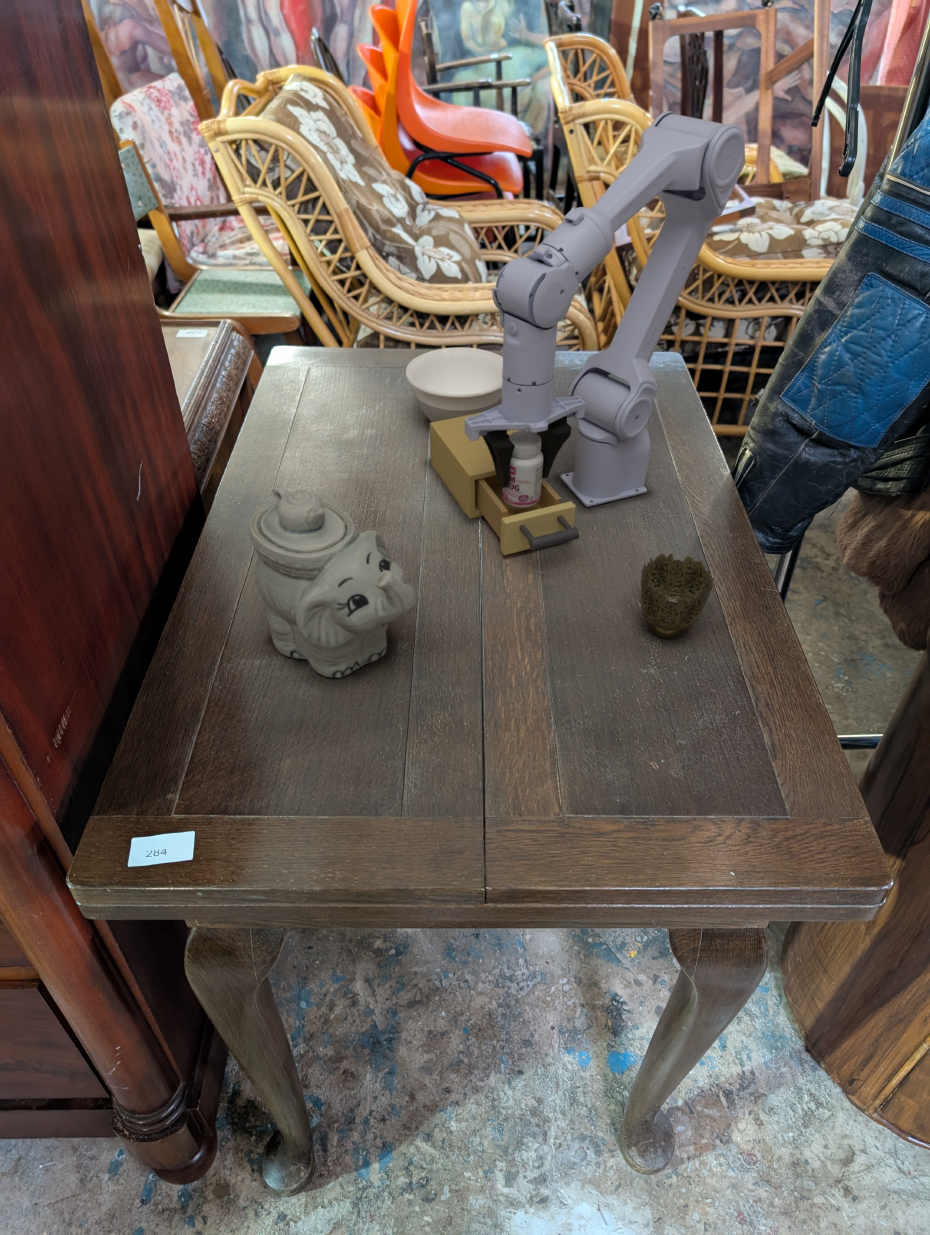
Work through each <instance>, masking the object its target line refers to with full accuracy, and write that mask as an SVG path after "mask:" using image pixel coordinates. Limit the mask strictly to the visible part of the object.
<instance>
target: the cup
mask: <svg viewBox="0 0 930 1235" xmlns="http://www.w3.org/2000/svg"><path fill="white" fill-rule="evenodd" d="M711 577H712V574H711V569H709V570H707V569H706V566H705V565H704V563H703V560H693V557H691V556H690V555H688V556H685V558H684V560H680V559H674V555H673V553H669V554H668V555H666V554H664V553H663V552H661V553H659V554H658V555H657V556H656V557H655V558H654V560H653V558H652V557H650V558H649V559H648V561H647V564H643V567H642V569H641V582H640V606H641V611H642V614H643V616H644V617H645V619H646V620H647V621H648V623H649V627H650V630H651V632H653V634H654V635H656V636H657V637H660V638H663V639H674V638H676V637H678V636H679V635H680V634H681V633H682V632H683V631H684V630H685V629H688V628H689V627H690V626H692V625H693V624H694V623H695V622H696V621H697V620H698V618H699V617H700V616H701V613H703V610H704V608H705V605H706V603H707V601H708V598H709V596H710V594H711V593H712V590H713V588H714V584H715V583H714V581H715V577H712V578H711Z"/></svg>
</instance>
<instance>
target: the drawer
mask: <svg viewBox="0 0 930 1235" xmlns="http://www.w3.org/2000/svg"><path fill="white" fill-rule="evenodd" d="M502 492H503V487H502V486H501V485H500V483H499V482H498V481H497V477H496V475H495V476H491V477H486V478H482V479H477V480H475V505H476V506H477V507H478V509H479V510H480V512H481V513H482V514H483V516H482V517H484V519H485V520H486V521H487V522H488V523H487V524H489V526H490V527H491V528H492V530H493V532H494V533H495V534H496V535H497V537H498V539H500V546H499V547H500V548H499V550H500V552H501V553H502V554H503V556H507V555H510V554H515V553H519V552H522V551H526V550H531V551H536V550H540V549H543V548H548V547H551V546H556V545H559V544H563V543H567V542H571V541H575V540H579V539H580V531H579V529H578V528H577V527H574V526H575V518H576V511H577V510H576V509H577V506H576V504H575V503H574V502H573V501H571V500H570V501H565V502H562V496H560V495H559V494H558V493H557V491H556V490H555V489H554V488H553V487H552V486H551V484H549V482H548V481H547V480H546V478H544V479H543V478H542V482H541V495H540V499H539V501H538V502H537V503H536V504H535V505H533V506H531V507H527V508H518V507H514V506H511V505H509V504H507V503H506V502H505V501H504V499H503V496H502Z"/></svg>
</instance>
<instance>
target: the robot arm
mask: <svg viewBox="0 0 930 1235" xmlns="http://www.w3.org/2000/svg"><path fill="white" fill-rule="evenodd" d="M745 142H746V141H745V136H744V132H743V130H742V128H741V126H739V125H738V124H735V123H726V124H725V123H720V122H715V121H711V120H707V119H702V118H697V117H691V116H686V115H681V114H678V113H676V112H674V111H671V110H667V111H663V112H662V113H660V114H659V115H657V117H656V118H654V120H653V121H652V122H651V124H650V125H649V126H648V127H647V128H646V129H645V130H643V131H642V133H641V136H640V140H639V143H638V147H637V148H638V149H637V154H636V155H635V156H634V157H633V158H632V160H630V162H629V163H628V164H627V166H626V167H625V168H624V169H623V170H622V171H621V173H620V174H619V175H618V176H617V177H616V178H615V180H614V181H613V182H612V183H611V184H610V185H609V187H608V188H607V189H606V190H605V191H604V192H603V194H602V195H601V196H600V198H598V200H597V201H596V202H595V203H594V204H593V206H592V207H586V206H579V207H576V208H574V209H571V210H569V211H568V212H567V214H565V215H564V216H563V218H564V219H563V220H562V221H561V222H560V223H559V224H558V225H557V226H556V227H555V228H554V229H553V230H551V232H550V233H549V234H548V235H547V236H546V237H545V238H544V239H543V240H542V241H541V242H540V243H539V244H538V245H537V246H536V247H535V248H534V249H533V250H532V251H531V252H530V253H529V254H528V255H527V256H520V257H515V258H514V259H512V260H510V261H509V262H507V263H506V264H505V265H504V266H503V267H502V268H501V270H500V272H499V273H498V276H497V280H496V282H495V287H494V288H492V289H491V292H492V293H491V296H492V301H493V304H494V306H495V307H496V308H497V310H498V312H499V325H500V326H501V328H502V329H503V340H502V357H503V367H502V402H501V404H500V405H499V406H496V407H494V408H492V409H490V410H487V411H485V412H483V413H481V414H478V415H476V416H473V417H469V418H465V434H466V435H467V437H468V438H469V439H470V441H475V440H478V439H479V436H482V437H483V439H484V441H485V443H486V445H487V447H488V449H489V452H490V454H491V457H492V460H493V463H494V467H495V471H496V477H497V481H498V482H499V483H500V485H501V486H502V487H503V488H505V487H508V486H509V482H510V463H511V458H512V454H513V450H514V447H515V445H514V444H513V443H512V442H511V441H510V440H509V435H508V434H507V430H519V431H530V432H533V433H536V434H538V435H539V436H540V437H541V452H542V454H543V470H542V478H543V479H548V478H549V475H550V472H551V470H552V467H553V465H554V462H555V460H556V458H557V456H558V454H559V452H560V451H561V449H562V447H563V446H564V444H565V443H566V442H567V440H568V439H569V438H570V437H571V435H572V426H571V425H570V424H569V423H568V419H570V418H574V420H573V424H574V425H576V426H577V432H576V442H575V450H574V451H575V452H574V462H573V471H570V472H566V473H562V474H560V476H559V478H560V480H561V481H562V482H563V483H564V484H565V485H566V487H567V488H568V489H569V491H571V492H572V493H573V494H574V496H576V498H577V499H578V500H579V501H580V502H581V503H582V505H584V506H585V507H587V508H590V507H594V506H599V505H601V504H606V503H610V502H614V501H617V500H622V499H626V498H630V497H631V498H632V497H634V496H639V495H643V494H646V493H647V492H648V488H647V487H646V486H645V484H646V478H647V474H648V472H647V471H648V467H649V466H648V465H649V460H650V455H651V446H652V445H651V438H650V437H651V436H650V434H649V431H648V429H647V427H646V426H647V425H648V423H649V421H650V419H651V415H652V411H653V404H654V401H655V397H656V396H657V393H658V390H659V384H658V382H657V380H656V378H655V376H654V374H653V371H652V370H651V367H650V365H649V363H650V361H651V359H652V357H653V355H654V352H655V350H656V348H657V346H658V343H659V341H660V340H661V337H662V335H663V333H664V331H665V328H666V326H667V325H668V322H669V319H670V318H671V315H672V313H673V311H674V309H675V307H676V304H677V302H678V300H679V297H680V296H681V293H682V291H683V289H684V287H685V285H686V283H687V282H688V281H687V280H688V279H689V276H690V274H691V272H692V270H693V267H694V265H695V263H696V261H697V259H698V257H699V254H700V252H701V250H702V248H703V246H704V244H705V241H706V239H707V237H708V235H709V234H710V230H711V229H712V226H713V224H714V223H715V219H716V218H719V217H721V216H722V214H723V212H724V210H725V208H726V206H727V204H728V202H729V199H730V198H731V195H732V193H733V191H734V189H735V187H736V184H737V182H738V180H739V178H740V176H741V174H742V171H743V169H744V167H745V166H746V144H745ZM655 198H657V199H658V201H659V202H661V204H662V205H663V208H664V212H665V218H664V221H663V224H662V226H661V228H660V231H659V233H658V235H657V237H656V240H655V242H654V244H653V246H652V248H651V251H650V253H649V254H648V258H647V260H646V262H645V264H644V267H643V269H642V271H641V273H640V276H639V278H638V281H637V283H636V285H635V287H634V290H633V292H632V294H631V297H630V299H629V301H628V303H627V306H626V308H625V310H624V313H623V315H622V317H621V319H620V322H619V324H618V326H617V328H616V331H615V333H614V335H613V338H612V340H611V343H610V345H609V346H608V347H607V348H606V349H603V350H601V351H599V352H596V353H594V354H592V355H589V356H588V357H587V358H586V361H585V363H584V365H583V367H582V369H581V370H580V372H579V373H578V374H577V376H576V377H574V379H573V380H572V381H571V384H570V386H569V388H568V391H567V396H566V397H564V396H563V397H553V389H554V388H553V386H554V378H555V377H554V374H555V361H556V350H557V334H558V325H559V323H560V321H563V320H564V319H565V317H566V316H567V314H568V313H569V310H570V308H571V305H572V302H573V299H574V297H575V296H576V295H577V294H578V291H579V289H580V284H581V283H582V282H583V281H584V280H585V279H586V278H587V277H588V275H590V274H591V273H592V271H594V270H595V269H596V267H597V266H598V265H599V264H600V263H601V262H603V260H604V259H605V258H606V257H607V256H608V255H609V254H610V253H611V252H612V250H613V246H614V234H615V233H616V232H617V231H618V230H619V229H621V227H622V226H624V225H625V224H626V223H627V222H628V221H630V220H631V219H632V218H633V217H634V216H635V215H636V214H638V213H639V212H640V211H641V210H642V209H643V208H645V207H646V206H647V205H648V204H649V203H650V202H652V201H653V200H654V199H655ZM610 375H612V376H615V377H617V378H619V379H622V380H624V381H625V382H626V383H628V384H626V383H624V382H621V381H620V380H617V379H616V378H613V377H611V376H610Z"/></svg>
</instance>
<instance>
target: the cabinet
mask: <svg viewBox="0 0 930 1235" xmlns="http://www.w3.org/2000/svg"><path fill="white" fill-rule="evenodd" d="M481 413H483V412H481ZM481 413H476V414H471V415H466V416H461V417H456V418H451V419H446V420H441V421H436V422H431V421H430V422H429V437H430V438H429V439H430V440H429V441H430V442H429V443H430V464H431V466H432V467H433V469H434V470H435V472H436V473H437V475H438V476H439V477H440V479H441V480H442V482H443V483H444V485H445V486H446V488H447V489H448V491H449V492H450V494H452V496H453V497H454V499H455V500H456V502H457V503H458V505H459V506H460V508H461V509H462V511H463V512H464V513H465V515H466V517H467V518H468V519H469V520H472V519H476V518H480V517H484V516H483V514H482V513H481V512H480V510H479V509H478V507H477V506H476V505H475V480H477V479H482V478H486V477H491V476H495V475H496V471H495V467H494V463H493V460H492V457H491V454H490V452H489V449H488V447H487V445H486V443H485V441H484V439H483V437H482V436H479V439H478V440H475V441H470V439H469V438H468V437H467V435H466V434H465V418H469V417H473V416H476V415H478V414H481ZM517 431H520V430H507V434H508V435H509V436H510V435H511V434H512V433H514V432H517Z"/></svg>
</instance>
